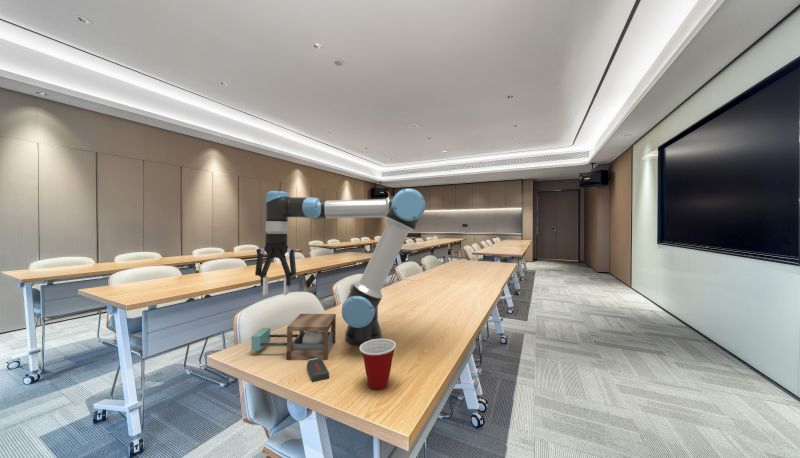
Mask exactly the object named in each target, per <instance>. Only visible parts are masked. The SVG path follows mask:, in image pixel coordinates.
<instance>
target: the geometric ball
mask: <svg viewBox="0 0 800 458" xmlns="http://www.w3.org/2000/svg"><path fill="white" fill-rule="evenodd" d="M306 332H307V333H305V334H304V337H303V339H302V344H323V335H322V334H321V333H320V332H321V331H306Z"/></svg>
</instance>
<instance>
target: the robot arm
mask: <svg viewBox="0 0 800 458" xmlns="http://www.w3.org/2000/svg"><path fill="white" fill-rule="evenodd" d="M265 197H266V198H265V232H266V234H265V236H264V237H265V238H264V239H265V245H264V247H262V248H261V247H260V248H257V249H256V254H257V257H256V266H255V271H254V275H255V276H258V277H260V286H262V296H266V295H268V294H269V276H267V274H268V271H269V269H270V266H271V263H272V261H273V259H275V258H276V259H279V261H280V263H281V266H282V269H283V272H284V275H285V276H284V277H283V296H287V295H289V287H290V286H291V284H292V277H293V276H295V275H297V266H296V256H295V255H296V248H290V247H289V246H288V234H287V233H288V223H289V222H288V220H289V219H288V218H301V219H302V218H304V219H312V220H319V219H320V220H321V219H322V220H323V219H356V218H357V219H363V218H364V219H366V218H368V219H369V218H374V219H375V218H385V219H386V222H387V223H386V226H385V227H384V230H383V232H382V234H381V236H380V238H379V240H378V242H377V243H376V244H377V245H376V246H375V249H374V250H373V252H372V254H371V257H370V258H369V262H368V263H367V265H366V267H365V270H364V272H363V274H362V276H361V278H360V280H359V281H355V282H354V283H351V284H350V288H349V294H348V296H347V297H346V300H344V302H343V303H342V306H341V317H342V319H343V321H344V322H345V323H346V324H347V327H346V331H345V335H344V337H345V338H344V339H345V341H346V342H347V343H349V344H351V345H355V346H361V344H363V343H364V342H367V341H369V340H374V339H382V336H383V335H382V329H381V326H380V323H379V320H378V319H379V318H378V317H379V315H378V314H379V313H378V311H379V309H378V308H379V305H380V303H381V300H382V298H383V293H382V289H383V287H384V284H385V283H386V280H387V279H388V276H389V274H390V272H391V270H392V269H393V266H394V263H395V262H396V260H397V257H398V255H399V253H400V251H401V249H402V247H403V245H404V243H405V240H406V239H407V237H408V234H409V233H410V232H414V231H415V229H416V227H417V225H418V222H419V221H420V218H421V217H422V216H423V214H424V213H425V210H426V200H425V197H424V196H423V195H422V193H421V192H419V190H416V189H414V188H404V189H401V190H399V191H398V192H397V193H395V195H394V196H387V197H386V199H385V198H384V199H382V198H381V199H340V200H339V199H335V200H333V199H332V200H331V199H330V200H320V198H318V197H311V196H308V197H303V196H302V197H301V196H300V197H299V196H298V197H297V196H296V197H292V196H289V194H288V192H287V191H282V190H281V191H280V190H270V191H268V192H267V193H266V196H265ZM265 253H266V257H265V258H266V260H265V261H264V254H265ZM286 253H288V255H289V256H288V257H289V258H288V259H289V264H288V260H287V257H286ZM263 262H264V265H263Z"/></svg>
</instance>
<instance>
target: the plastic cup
mask: <svg viewBox="0 0 800 458" xmlns="http://www.w3.org/2000/svg"><path fill="white" fill-rule="evenodd" d="M396 347H397V343H396V342H395V341H394V340H392V339H390V338H389V339H387V338H381V339H374V340H369V341H367V342H364V343H363V344H361V345H359V351H360V353H361V354H362V357H363V365H364V369H365V375H366V380H367V385H368V388H370V389H371V390H373V389H374V391H380V390H384V389H387V387H388V384H389V380H390V375H391V370H392V363H393V358H394V353H395V349H396Z"/></svg>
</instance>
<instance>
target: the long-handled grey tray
mask: <svg viewBox="0 0 800 458" xmlns="http://www.w3.org/2000/svg"><path fill="white" fill-rule="evenodd" d="M299 332H300V331H299ZM307 332H308V331H304V332H300V334H292V338H294V340H292V350H323V344H302V339H303V337H304V334H305V333H307ZM319 332H320V333H321V334H322V335H323V331H319ZM271 338H287V334H271V327H262V328H260V329H259V330H258V331H256V332H255V333H254V334H253V335H251V349H250V351H261V350H262V349H263V348H264V347H266V346H267V347H271V346H272V347H273V346H274V347H277V346H278V347H280V346H281V347H282V346H283V347H287V342H270V341H271ZM333 344H334V343H333V332H331V331H328V353H329V352H330V349H331V347H332V345H333Z"/></svg>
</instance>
